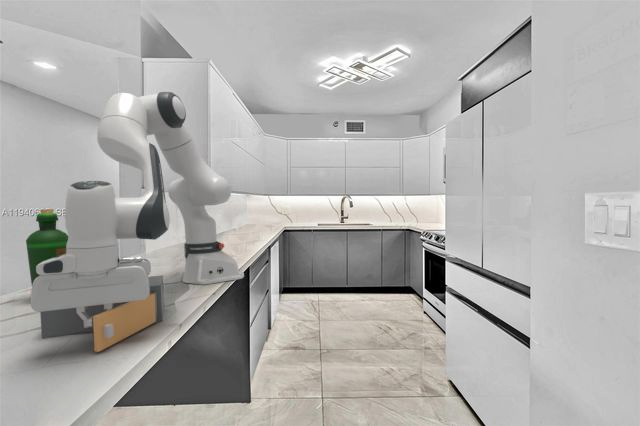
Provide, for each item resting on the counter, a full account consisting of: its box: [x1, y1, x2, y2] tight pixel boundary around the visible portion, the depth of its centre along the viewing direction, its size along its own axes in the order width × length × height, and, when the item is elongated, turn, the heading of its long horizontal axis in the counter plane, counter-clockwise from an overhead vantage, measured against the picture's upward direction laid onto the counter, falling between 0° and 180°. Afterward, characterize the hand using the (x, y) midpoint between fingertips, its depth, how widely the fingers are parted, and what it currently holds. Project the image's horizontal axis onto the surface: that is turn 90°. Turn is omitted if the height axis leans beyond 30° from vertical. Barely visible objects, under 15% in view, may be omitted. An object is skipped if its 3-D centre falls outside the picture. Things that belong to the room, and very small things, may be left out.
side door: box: [93, 292, 157, 353], centre depth 73 cm, size 17×2×7 cm, turn 168°
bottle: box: [25, 208, 68, 285], centre depth 103 cm, size 11×11×28 cm
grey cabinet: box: [40, 275, 165, 339], centre depth 83 cm, size 24×12×10 cm, turn 113°
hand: (96, 325), depth 69 cm, fingers closed
